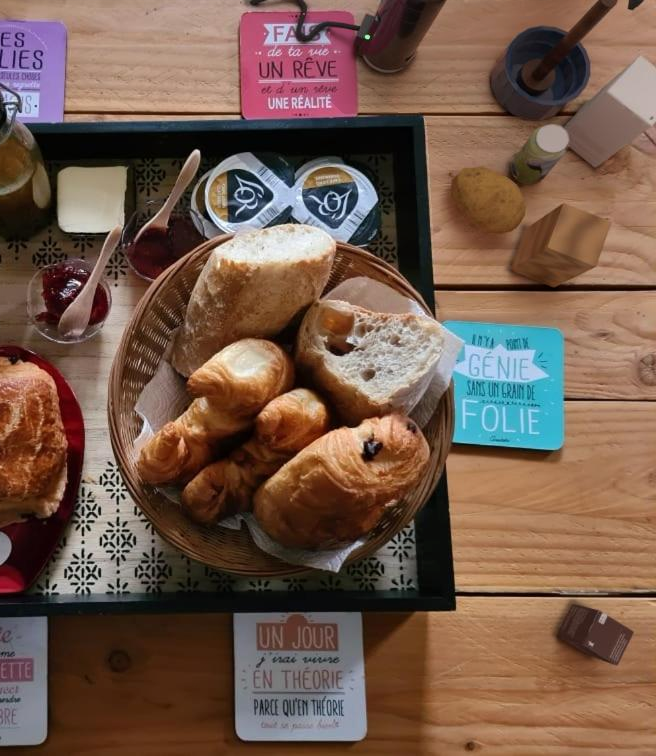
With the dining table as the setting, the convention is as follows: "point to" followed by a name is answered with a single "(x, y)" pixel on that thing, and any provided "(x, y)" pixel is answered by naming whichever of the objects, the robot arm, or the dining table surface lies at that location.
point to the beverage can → (540, 154)
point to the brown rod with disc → (559, 52)
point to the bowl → (568, 72)
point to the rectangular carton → (615, 114)
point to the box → (595, 634)
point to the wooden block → (561, 245)
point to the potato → (488, 199)
